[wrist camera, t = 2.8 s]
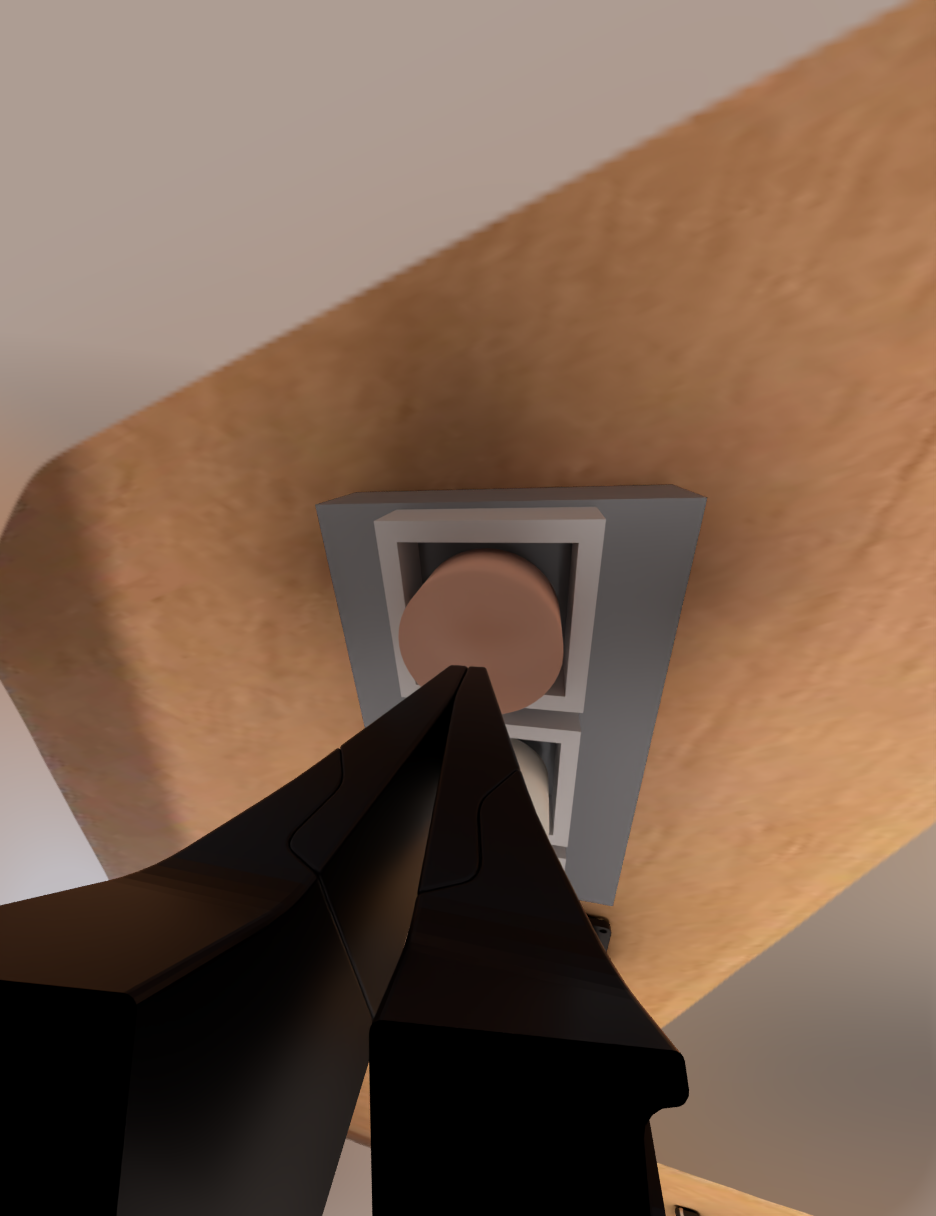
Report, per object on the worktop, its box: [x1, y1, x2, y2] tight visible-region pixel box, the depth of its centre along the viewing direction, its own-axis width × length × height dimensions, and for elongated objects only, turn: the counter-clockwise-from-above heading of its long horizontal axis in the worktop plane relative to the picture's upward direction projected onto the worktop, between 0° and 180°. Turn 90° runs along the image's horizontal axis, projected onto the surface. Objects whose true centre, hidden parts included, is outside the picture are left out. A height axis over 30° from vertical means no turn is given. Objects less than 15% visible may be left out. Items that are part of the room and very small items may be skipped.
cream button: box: [510, 738, 549, 836], centre depth 13 cm, size 4×4×2 cm
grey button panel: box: [315, 485, 707, 906], centre depth 16 cm, size 21×12×5 cm, turn 3°
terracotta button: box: [398, 548, 563, 714], centre depth 10 cm, size 4×4×2 cm
